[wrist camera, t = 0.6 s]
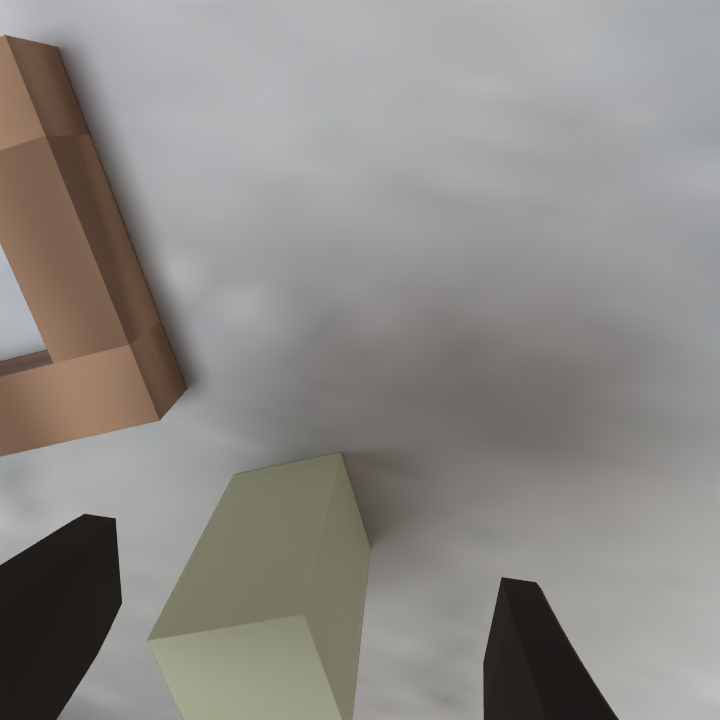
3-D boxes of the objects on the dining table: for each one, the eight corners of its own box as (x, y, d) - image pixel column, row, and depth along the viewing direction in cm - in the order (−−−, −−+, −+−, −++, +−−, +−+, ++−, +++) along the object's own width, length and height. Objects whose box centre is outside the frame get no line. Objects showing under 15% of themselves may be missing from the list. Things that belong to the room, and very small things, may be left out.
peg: (267, 566, 24) (202, 761, 17) (233, 474, 23) (146, 640, 16) (370, 547, 24) (350, 741, 16) (340, 452, 23) (303, 614, 15)
